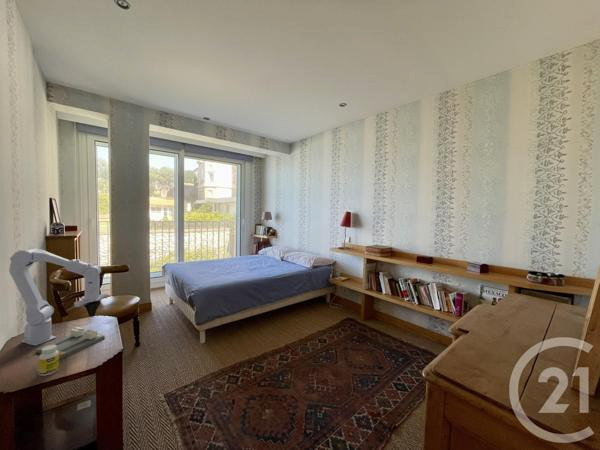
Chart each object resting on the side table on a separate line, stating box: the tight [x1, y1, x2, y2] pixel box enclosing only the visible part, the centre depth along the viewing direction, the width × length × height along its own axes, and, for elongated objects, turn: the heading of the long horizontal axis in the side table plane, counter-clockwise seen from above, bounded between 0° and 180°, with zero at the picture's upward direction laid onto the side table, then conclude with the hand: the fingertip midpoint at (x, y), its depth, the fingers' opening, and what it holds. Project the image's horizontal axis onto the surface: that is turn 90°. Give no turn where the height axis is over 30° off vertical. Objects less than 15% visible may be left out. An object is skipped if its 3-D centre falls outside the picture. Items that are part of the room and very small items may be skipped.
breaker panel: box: [35, 330, 105, 360], centre depth 114 cm, size 15×18×2 cm
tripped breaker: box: [84, 329, 98, 340], centre depth 118 cm, size 4×3×3 cm
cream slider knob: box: [69, 326, 85, 337], centre depth 119 cm, size 4×3×3 cm
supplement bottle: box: [38, 345, 60, 377], centre depth 95 cm, size 5×5×10 cm
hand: (91, 316), depth 124 cm, fingers closed
